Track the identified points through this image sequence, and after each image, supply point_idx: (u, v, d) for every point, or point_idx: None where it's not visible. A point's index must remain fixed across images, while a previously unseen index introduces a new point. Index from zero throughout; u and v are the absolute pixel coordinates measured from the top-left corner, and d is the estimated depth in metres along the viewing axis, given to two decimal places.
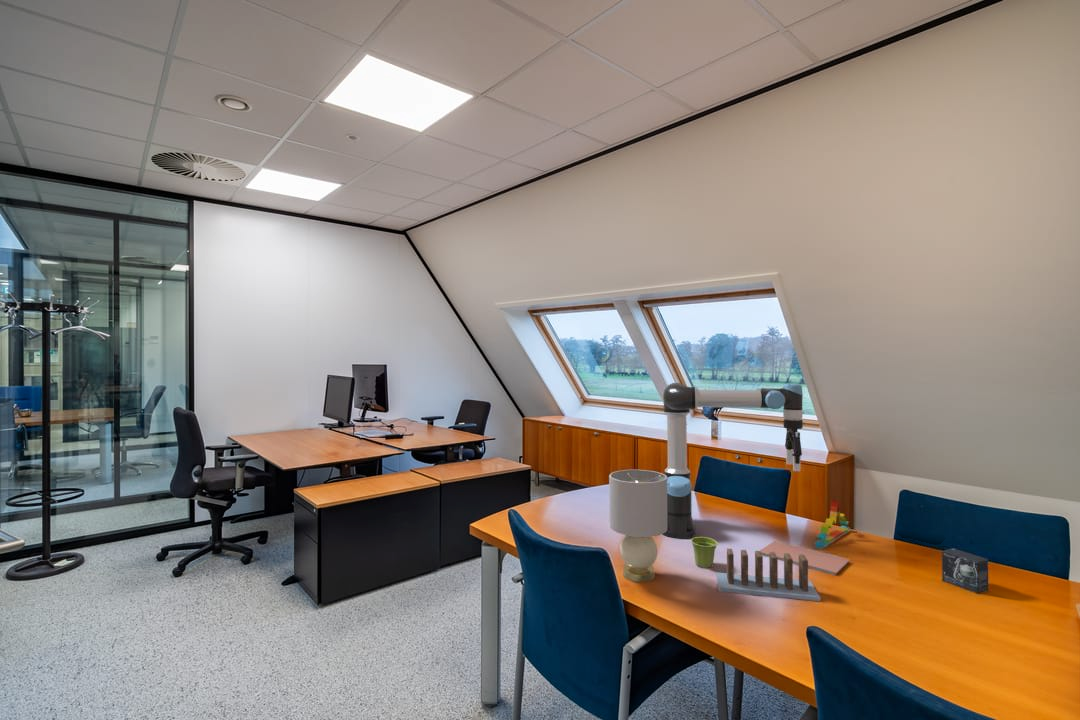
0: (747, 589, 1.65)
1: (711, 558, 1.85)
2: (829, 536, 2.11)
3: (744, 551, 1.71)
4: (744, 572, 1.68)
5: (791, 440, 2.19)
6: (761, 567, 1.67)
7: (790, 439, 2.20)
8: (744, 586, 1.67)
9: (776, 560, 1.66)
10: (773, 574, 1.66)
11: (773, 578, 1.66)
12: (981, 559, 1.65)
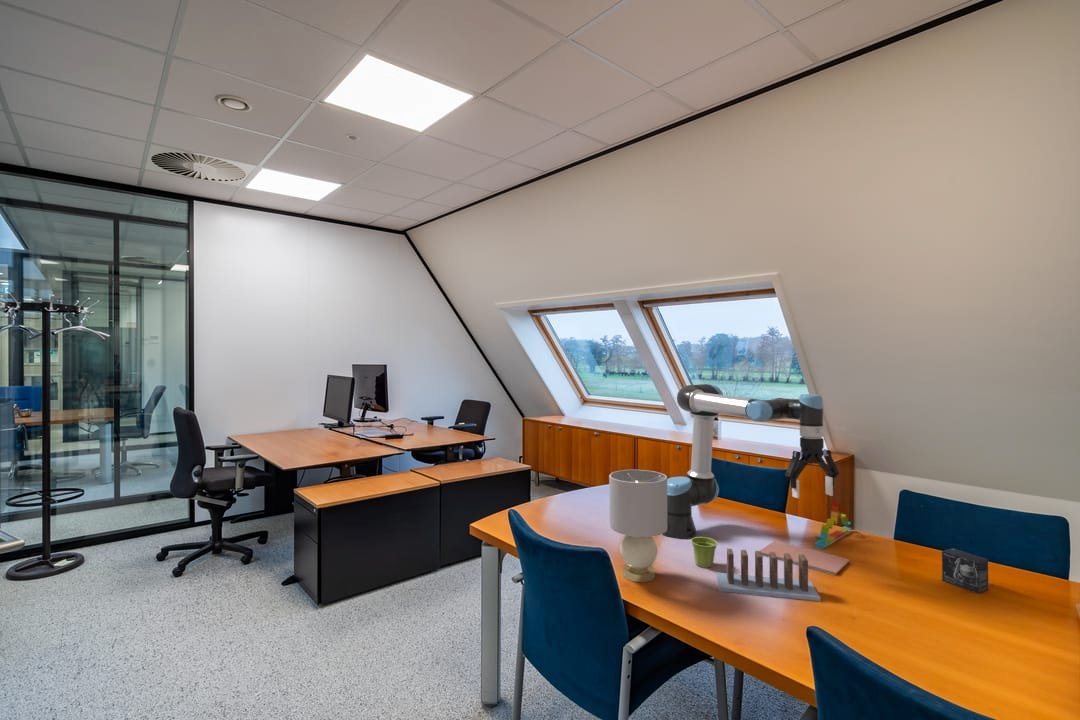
0: (747, 589, 1.65)
1: (711, 558, 1.85)
2: (830, 536, 2.11)
3: (744, 551, 1.71)
4: (744, 572, 1.68)
5: (799, 461, 1.84)
6: (761, 567, 1.67)
7: None
8: (744, 586, 1.67)
9: (776, 560, 1.66)
10: (773, 574, 1.66)
11: (773, 578, 1.66)
12: (981, 559, 1.65)
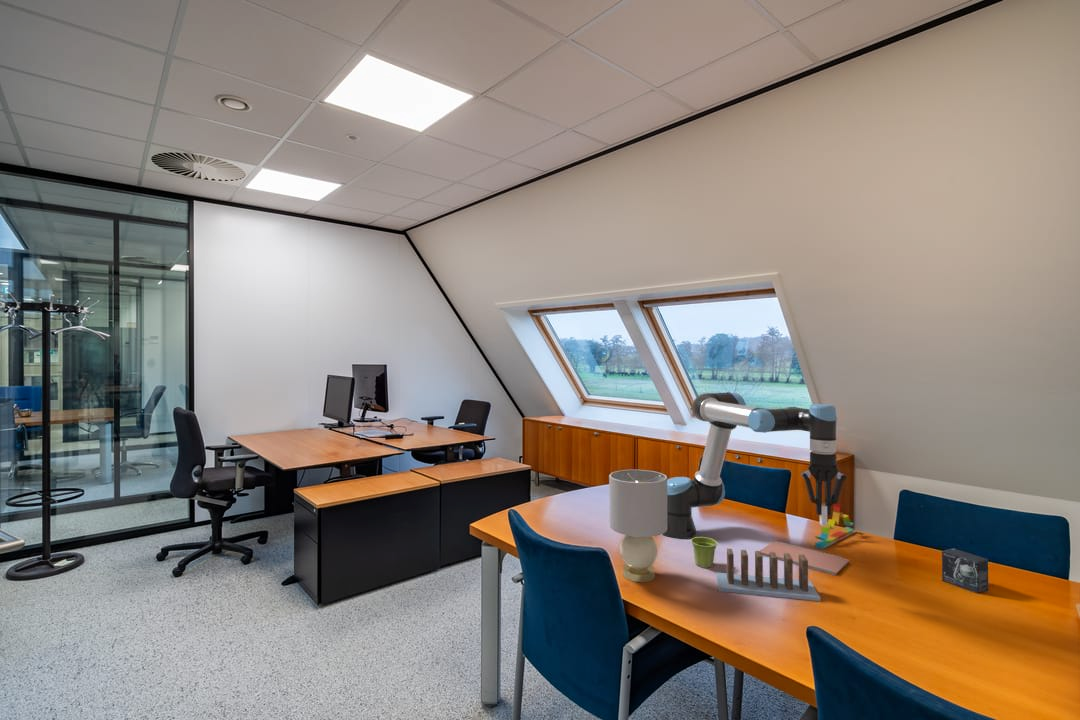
0: (747, 589, 1.65)
1: (711, 558, 1.85)
2: (831, 537, 2.10)
3: (744, 551, 1.71)
4: (744, 572, 1.68)
5: (815, 481, 1.66)
6: (761, 567, 1.67)
7: None
8: (744, 586, 1.67)
9: (776, 560, 1.66)
10: (773, 574, 1.66)
11: (773, 578, 1.66)
12: (981, 559, 1.65)
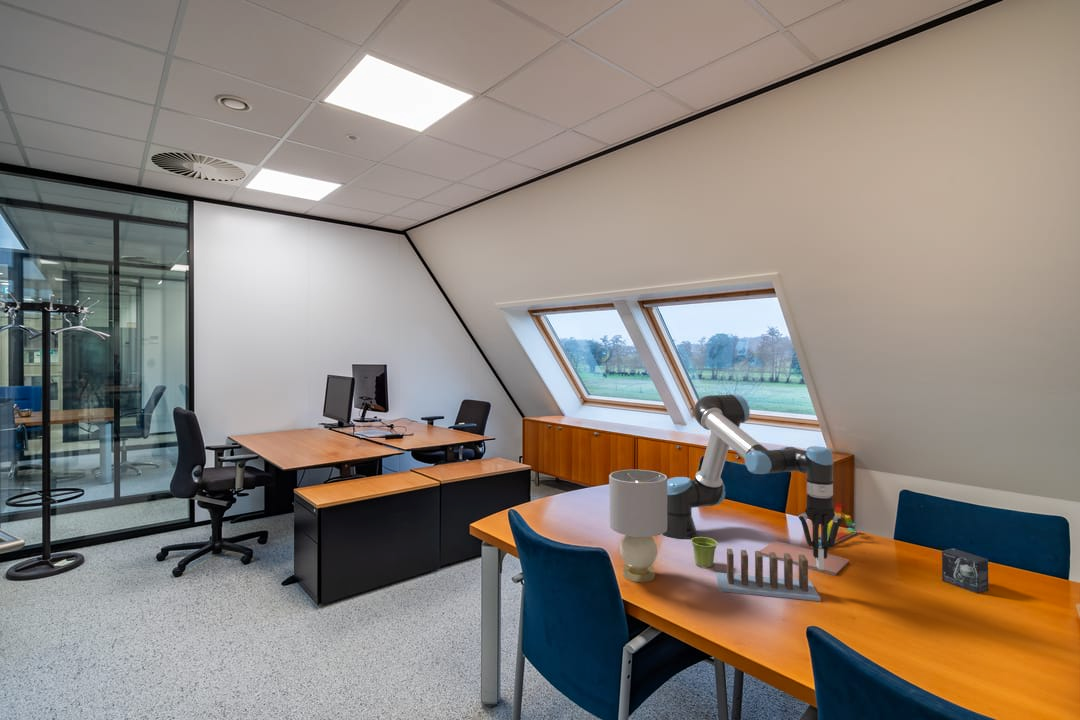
0: (747, 589, 1.65)
1: (711, 558, 1.85)
2: None
3: (744, 551, 1.71)
4: (744, 572, 1.68)
5: (812, 524, 1.67)
6: (761, 567, 1.67)
7: None
8: (744, 586, 1.67)
9: (776, 560, 1.66)
10: (773, 574, 1.66)
11: (773, 578, 1.66)
12: (981, 559, 1.65)
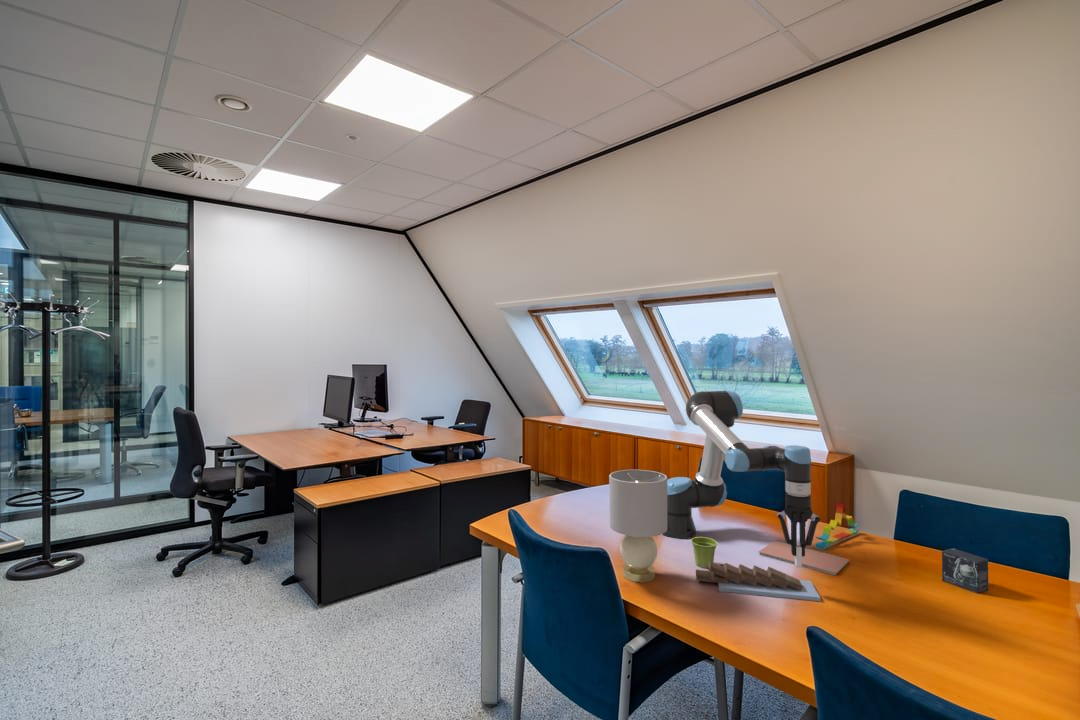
0: (747, 589, 1.65)
1: (711, 558, 1.85)
2: (833, 538, 2.10)
3: (709, 564, 1.74)
4: (726, 577, 1.70)
5: None
6: (737, 574, 1.69)
7: None
8: (744, 586, 1.67)
9: (743, 571, 1.68)
10: (756, 580, 1.67)
11: (760, 582, 1.67)
12: (981, 559, 1.65)
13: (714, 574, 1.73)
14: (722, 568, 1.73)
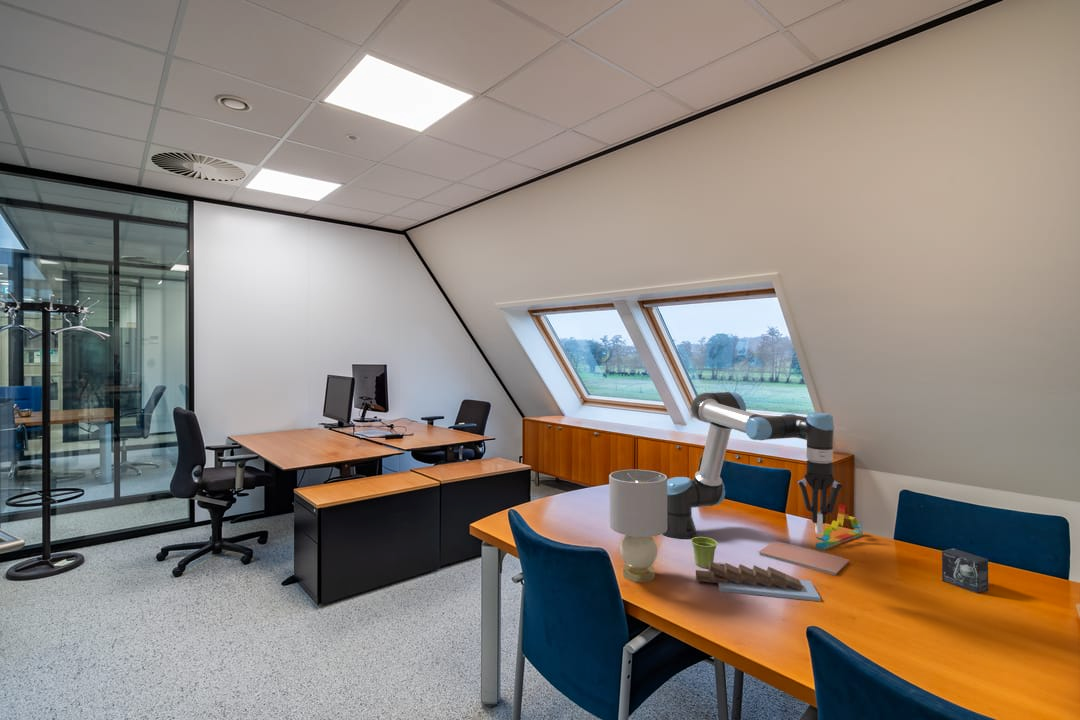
0: (747, 589, 1.65)
1: (711, 558, 1.85)
2: (835, 538, 2.09)
3: (709, 563, 1.74)
4: (726, 577, 1.70)
5: None
6: (737, 574, 1.69)
7: None
8: (744, 586, 1.67)
9: (743, 571, 1.68)
10: (756, 580, 1.67)
11: (760, 582, 1.67)
12: (981, 559, 1.65)
13: (714, 574, 1.73)
14: (722, 568, 1.73)
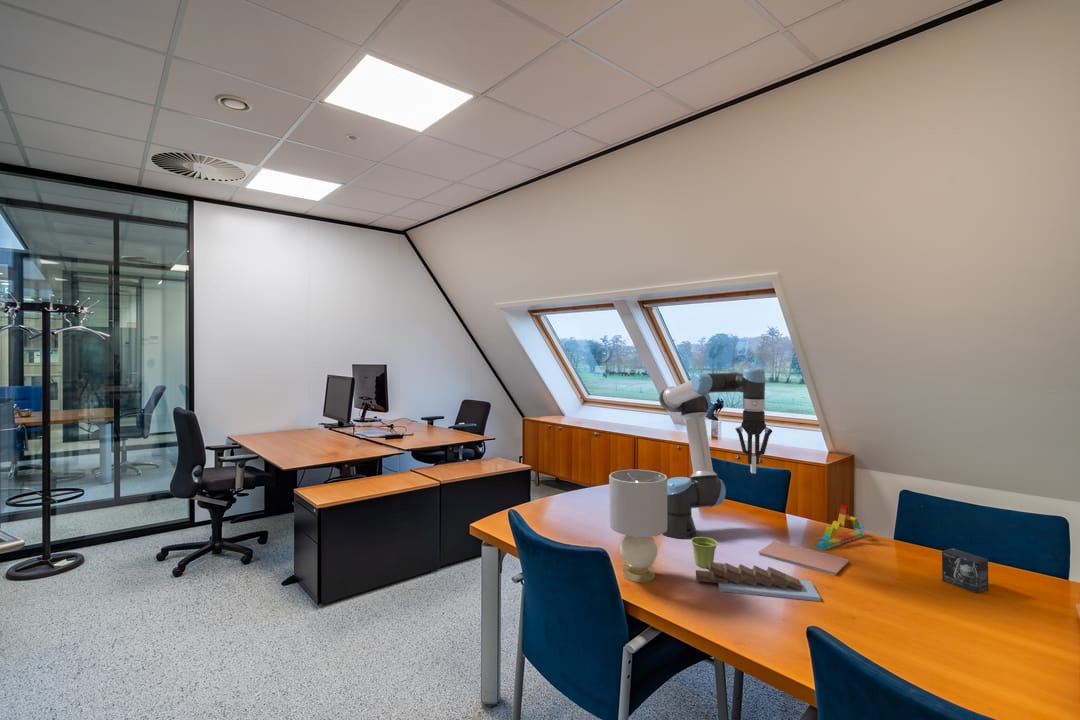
0: (747, 589, 1.65)
1: (711, 558, 1.85)
2: (836, 539, 2.08)
3: (709, 563, 1.74)
4: (726, 577, 1.70)
5: None
6: (737, 574, 1.69)
7: None
8: (744, 586, 1.67)
9: (743, 571, 1.68)
10: (756, 580, 1.67)
11: (760, 582, 1.67)
12: (981, 559, 1.65)
13: (714, 574, 1.73)
14: (722, 568, 1.73)
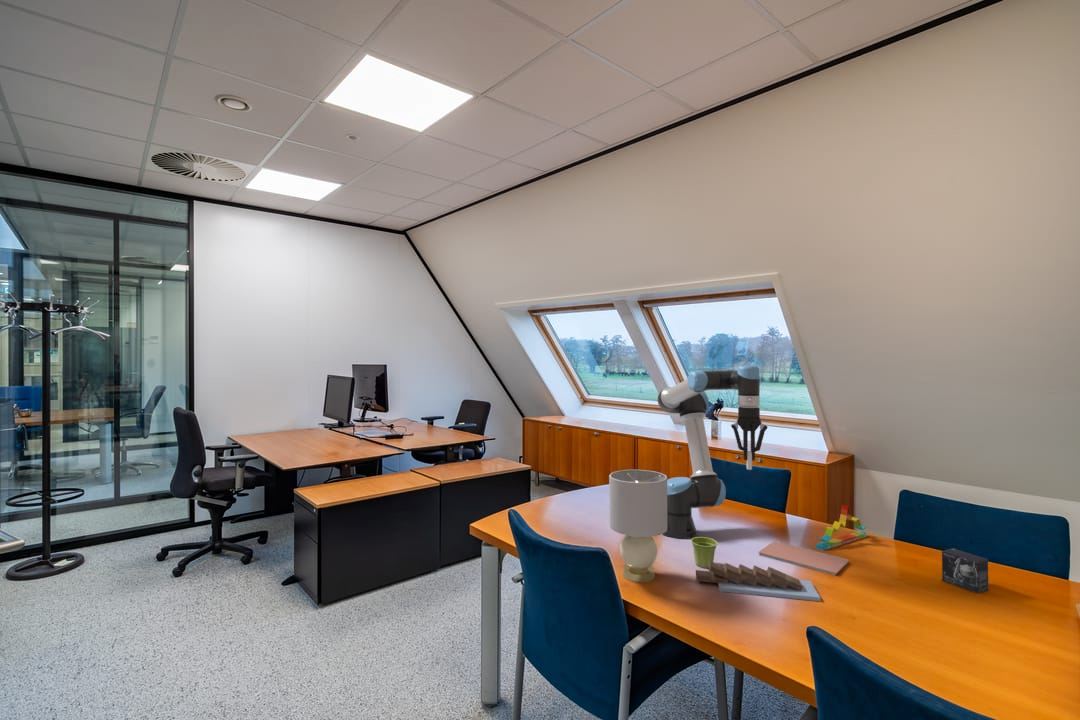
0: (747, 589, 1.65)
1: (711, 558, 1.85)
2: (837, 539, 2.08)
3: (709, 563, 1.74)
4: (726, 577, 1.70)
5: (743, 432, 1.94)
6: (737, 574, 1.69)
7: None
8: (744, 586, 1.67)
9: (743, 571, 1.68)
10: (756, 580, 1.67)
11: (760, 582, 1.67)
12: (981, 559, 1.65)
13: (714, 574, 1.73)
14: (722, 568, 1.73)
